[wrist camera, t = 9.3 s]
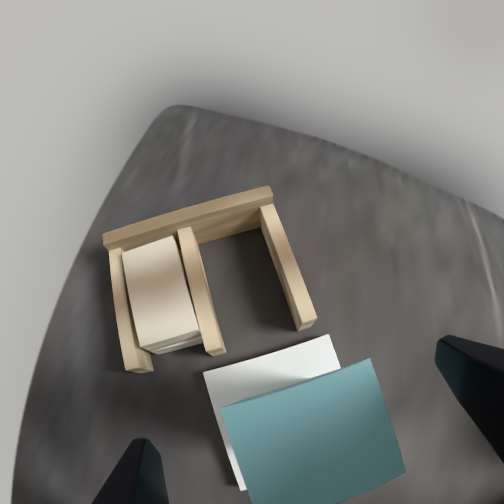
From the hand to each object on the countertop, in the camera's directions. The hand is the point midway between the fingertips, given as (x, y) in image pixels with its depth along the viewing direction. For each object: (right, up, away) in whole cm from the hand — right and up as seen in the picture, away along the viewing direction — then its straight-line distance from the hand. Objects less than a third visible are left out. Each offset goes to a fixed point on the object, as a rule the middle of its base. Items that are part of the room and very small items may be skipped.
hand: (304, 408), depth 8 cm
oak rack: (-5, +1, +16) cm, 17 cm away
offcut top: (-8, +1, +14) cm, 16 cm away
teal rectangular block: (+1, -7, +11) cm, 13 cm away
